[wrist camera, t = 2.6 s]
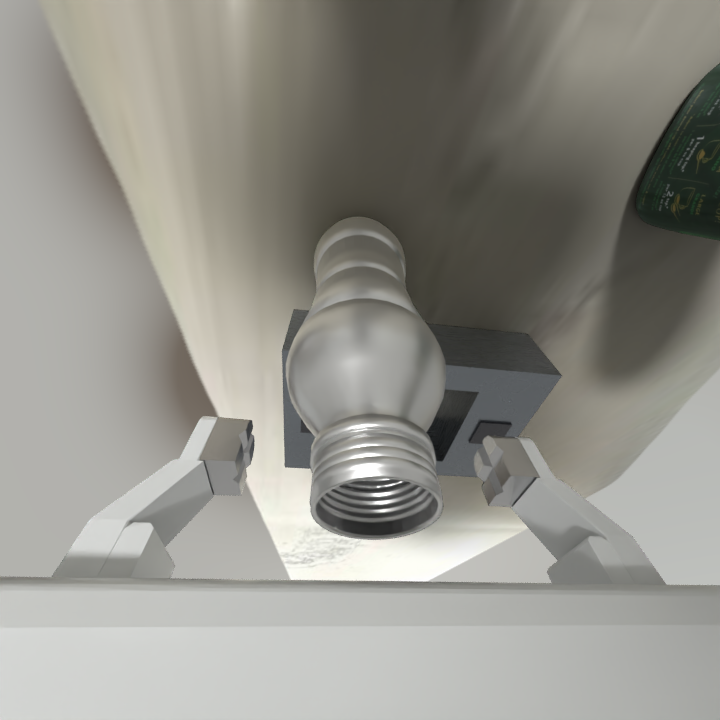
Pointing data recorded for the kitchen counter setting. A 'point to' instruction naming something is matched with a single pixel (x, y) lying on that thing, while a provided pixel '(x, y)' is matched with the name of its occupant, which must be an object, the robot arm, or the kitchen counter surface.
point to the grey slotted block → (457, 394)
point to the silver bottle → (367, 388)
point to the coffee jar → (687, 168)
